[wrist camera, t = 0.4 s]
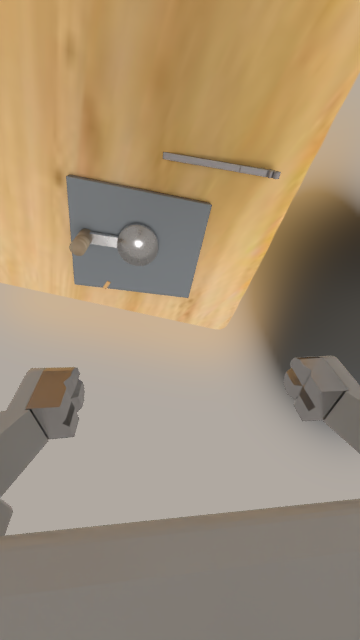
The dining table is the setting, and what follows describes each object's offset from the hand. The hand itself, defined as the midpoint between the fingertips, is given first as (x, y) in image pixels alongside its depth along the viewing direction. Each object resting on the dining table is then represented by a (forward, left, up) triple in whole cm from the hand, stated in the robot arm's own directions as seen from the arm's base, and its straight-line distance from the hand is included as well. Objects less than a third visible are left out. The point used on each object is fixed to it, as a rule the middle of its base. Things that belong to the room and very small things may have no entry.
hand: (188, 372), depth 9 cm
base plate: (+12, -3, -44) cm, 46 cm away
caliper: (-5, +10, -45) cm, 46 cm away
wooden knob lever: (+11, -7, -42) cm, 44 cm away
